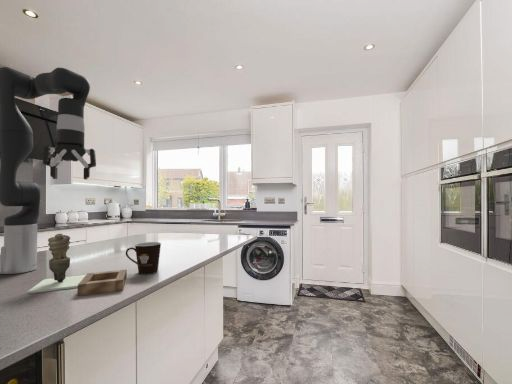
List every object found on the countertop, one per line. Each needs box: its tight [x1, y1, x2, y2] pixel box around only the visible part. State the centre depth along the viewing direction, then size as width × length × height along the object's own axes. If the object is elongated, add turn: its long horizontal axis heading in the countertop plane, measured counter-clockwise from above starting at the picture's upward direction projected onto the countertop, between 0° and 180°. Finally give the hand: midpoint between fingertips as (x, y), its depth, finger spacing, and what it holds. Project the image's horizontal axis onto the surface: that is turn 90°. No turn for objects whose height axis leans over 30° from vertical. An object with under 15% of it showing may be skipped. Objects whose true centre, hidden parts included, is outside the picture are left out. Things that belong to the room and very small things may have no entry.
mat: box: [27, 274, 87, 294], centre depth 80 cm, size 12×12×1 cm
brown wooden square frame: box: [77, 269, 128, 297], centre depth 78 cm, size 11×12×3 cm
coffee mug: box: [125, 241, 162, 275], centre depth 94 cm, size 12×9×10 cm
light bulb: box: [47, 233, 71, 282], centre depth 81 cm, size 6×6×15 cm
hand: (70, 179), depth 86 cm, fingers open, 8 cm apart
